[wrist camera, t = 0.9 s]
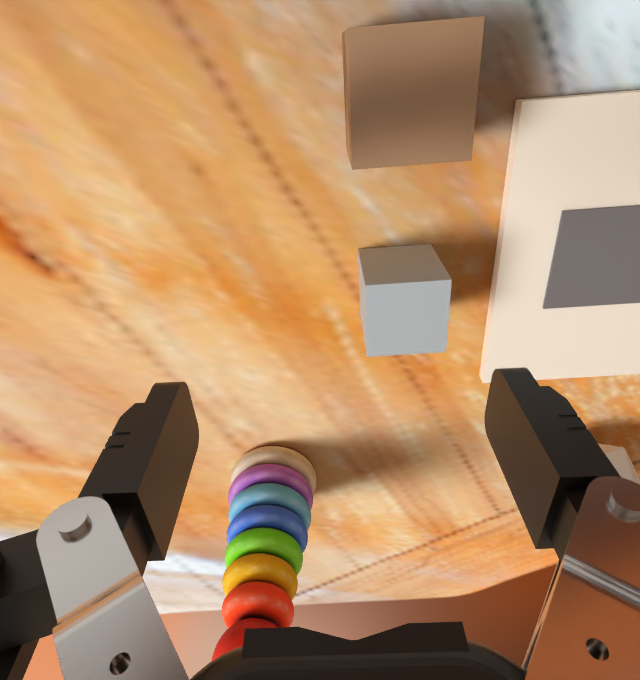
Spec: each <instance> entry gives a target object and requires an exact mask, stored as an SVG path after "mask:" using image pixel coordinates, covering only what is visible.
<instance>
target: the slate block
mask: <svg viewBox="0 0 640 680" xmlns="http://www.w3.org/2000/svg"><path fill="white" fill-rule="evenodd" d="M358 264H359V295H360V315H361V322H362V328H363V335H364V341H365V348H366V354H367V357H372V356H388V355H405V354H421V353H438V352H446V344H447V332H448V320H449V308H450V296H451V283H452V279H451V277H450V276H449V274H448V272H447V271H446V269H445V267H444V265H443V264H442V262H441V260H440V259H439V257H438V255H437V254H436V252H435V250H434V248H433V247H432V245H431V244H421V245H407V246H392V247H378V248H364V249H358Z"/></svg>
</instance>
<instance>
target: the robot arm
mask: <svg viewBox="0 0 640 680" xmlns="http://www.w3.org/2000/svg"><path fill="white" fill-rule="evenodd" d="M485 428H486V433H487V437H488V439H489V441H490V444H491V446H492V448H493V451H494V453H495V455H496V458H497V460H498V462H499V465H500V467H501V469H502V472H503V474H504V476H505V478H506V481H507V483H508V485H509V488H510V490H511V492H512V495H513V497H514V499H515V502H516V504H517V506H518V509H519V511H520V513H521V515H522V518H523V520H524V522H525V525H526V527H527V529H528V532H529V534H530V536H531V539H532V541H533V543H534V546H535V548H536V549H548V548H554V549H555V551H556V553H557V556H558V558H559V561H558V564H557V567H556V570H555V573H554V576H553V578H552V582H551V584H550V587H549V590H548V593H547V596H546V599H545V602H544V605H543V608H542V611H541V614H540V616H539V620H538V623H537V626H536V628H535V631H534V634H533V637H532V640H531V643H530V645H529V648H528V651H527V653H526V656H525V659H524V662H523V665H522V667H520V666H518V665H517V664H516V663H515V662H513V661H512V660H510V659H509V658H507V657H505V656H504V655H503V654H501V653H499V652H497V651H495V650H493V649H491V648H489V647H487V646H485V645H482V644H479V643H477V642H474V641H471V640H467V639H466V636H465V632H464V628H463V624H462V622H437V623H409V624H405V625H402V626H399V627H396V628H393V629H390V630H387V631H384V632H381V633H378V634H375V635H371V636H369V637H365V638H362V639H359V640H347V639H343V638H339V637H335V636H331V635H328V634H323V633H320V632H316V631H312V630H308V629H304V628H300V627H278V628H247V629H245V633H244V641H243V646H242V647H239V648H236V649H233V650H231V651H229V652H227V653H225V654H223V655H221V656H219V657H218V658H216V659H215V660H213V661H212V662H210V663H209V664H207V665H206V666H205V667H204V668H202V669H201V670H200V671H199V672H197V673H196V674H195V675H194V676H193V677H192V678H191V679H190V680H640V484H638V483H636V482H633V481H631V480H628V479H625V478H622V477H621V476H620V475H619V473H618V472H617V470H616V469H615V467H614V466H613V465H612V463H611V462H610V460H609V459H608V457H607V456H606V455H605V453H604V452H603V450H602V449H601V447H600V446H599V445H598V443H597V442H596V440H595V439H594V437H593V436H592V435H591V433H590V432H589V430H586V426H585V425H584V423H583V422H582V420H581V419H580V417H577V413H576V412H575V410H574V409H573V407H572V406H571V405H570V403H569V402H568V400H567V399H566V398H565V397H563V396H562V395H560V394H559V393H558V392H556V391H555V390H554V389H552V388H551V387H550V386H539V385H538V383H537V382H536V380H535V378H534V377H533V375H532V374H531V372H530V371H529V370H528V369H527V368H525V367H522V368H500V369H495V370H494V371H493V374H492V378H491V384H490V389H489V394H488V400H487V405H486V410H485ZM198 442H199V429H198V423H197V419H196V416H195V412H194V408H193V404H192V400H191V396H190V393H189V389H188V386H187V384H186V383H185V382H167V383H155V384H154V385H153V387H152V389H151V391H150V393H149V395H148V397H147V399H146V401H145V403H135V404H134V405H133V406H132V407H131V408H130V409H128V410H127V411H126V412H125V413H124V414H123V415H122V416H121V417H120V418H119V420H118V422H117V424H116V426H115V428H114V430H113V432H112V436H110V437H109V439H108V441H107V443H106V445H105V449H103V451H102V453H101V454H100V456H99V458H98V460H97V462H96V464H95V466H94V468H93V470H92V472H91V473H90V475H89V477H88V479H87V481H86V483H85V485H84V487H83V489H82V491H81V492H80V494H79V496H78V498H77V499H74V500H71V501H69V502H67V503H65V504H63V505H62V506H60V507H59V508H57V509H56V510H54V511H53V512H52V513H51V514H50V515H49V516H48V517H47V518H46V519H45V520H44V522H43V523H42V525H41V526H40V528H39V529H38V530H35V531H32V532H29V533H26V534H22V535H19V536H16V537H13V538H9V539H6V540H3V541H0V680H23V677H24V675H25V672H26V670H27V667H28V665H29V663H30V660H31V658H32V655H33V653H34V650H35V648H36V646H37V643H38V641H39V638H42V637H45V636H48V635H50V634H53V638H54V643H55V647H56V651H57V655H58V659H59V663H60V667H61V671H62V674H63V679H64V680H189V678H188V676H187V674H186V672H185V669H184V667H183V665H182V663H181V661H180V659H179V656H178V654H177V652H176V650H175V648H174V646H173V643H172V641H171V639H170V637H169V635H168V632H167V630H166V628H165V626H164V624H163V621H162V619H161V617H160V616H159V613H158V611H157V608H156V606H155V604H154V602H153V600H152V597H151V595H150V593H149V591H148V589H147V586H146V584H145V582H144V580H143V578H142V577H143V574H144V571H145V567H146V564H147V561H163V560H165V557H166V553H167V550H168V546H169V543H170V540H171V536H172V533H173V530H174V526H175V523H176V519H177V516H178V513H179V509H180V506H181V502H182V499H183V496H184V492H185V489H186V486H187V482H188V479H189V475H190V472H191V469H192V465H193V462H194V459H195V455H196V452H197V448H198Z"/></svg>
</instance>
